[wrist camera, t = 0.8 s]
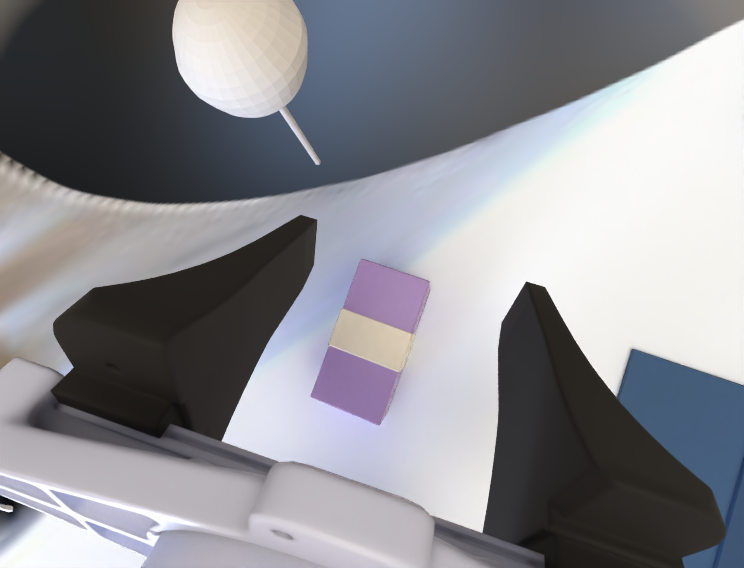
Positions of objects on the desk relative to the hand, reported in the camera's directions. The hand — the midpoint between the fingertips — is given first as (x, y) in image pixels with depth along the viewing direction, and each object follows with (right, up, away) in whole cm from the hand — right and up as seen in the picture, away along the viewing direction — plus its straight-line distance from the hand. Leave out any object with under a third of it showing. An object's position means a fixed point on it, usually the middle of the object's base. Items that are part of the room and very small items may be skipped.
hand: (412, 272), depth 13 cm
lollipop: (-6, +9, +17) cm, 20 cm away
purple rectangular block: (-1, -4, +14) cm, 15 cm away
